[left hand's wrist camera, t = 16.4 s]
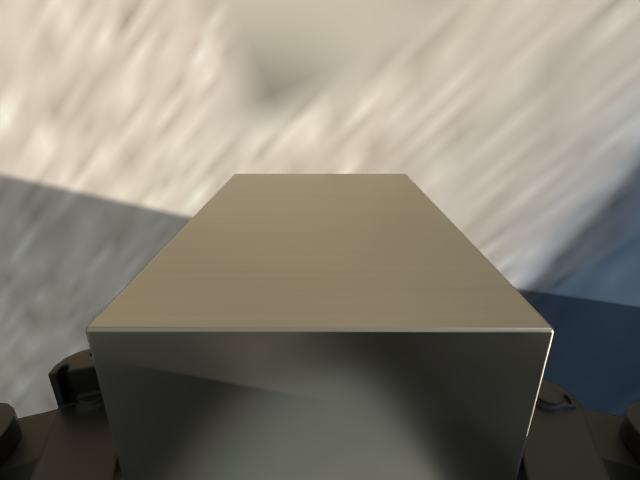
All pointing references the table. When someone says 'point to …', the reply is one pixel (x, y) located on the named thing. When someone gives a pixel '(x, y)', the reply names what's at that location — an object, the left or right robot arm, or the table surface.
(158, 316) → the bar
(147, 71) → the table surface
